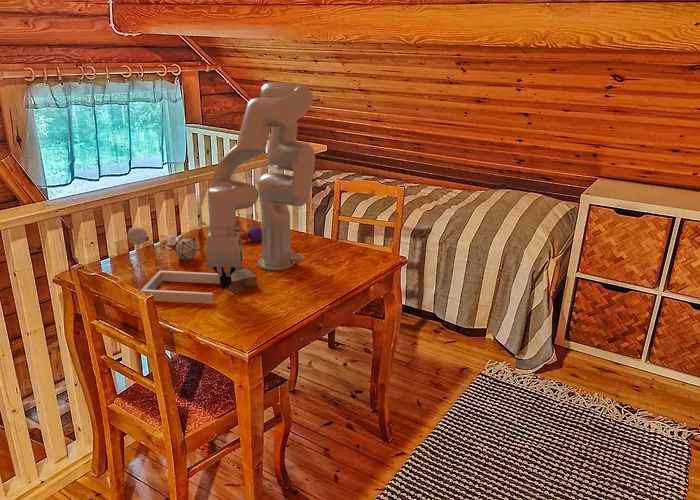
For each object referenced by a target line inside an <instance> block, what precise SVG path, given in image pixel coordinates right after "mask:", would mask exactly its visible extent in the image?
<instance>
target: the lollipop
mask: <svg viewBox="0 0 700 500" xmlns="http://www.w3.org/2000/svg"><path fill="white" fill-rule="evenodd" d="M126 235H127V236H126V238H127V240H128V241H129V242H130V243H131V244H133V245H136V246H137V253H138V261H139V270H140V271H142V269H143V268H142V262H141V253H140V245H141V244H143V243H145V241H146V240H147V237H148V233H147V231H146V230H145V228H143V227H142V226H138V225H136V226H133V227H131V228H129V229H128V232H127V234H126Z"/></svg>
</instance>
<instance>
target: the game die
mask: <svg viewBox="0 0 700 500" xmlns="http://www.w3.org/2000/svg"><path fill="white" fill-rule="evenodd" d="M195 240H196V237H194V238H193V239H191V238H190V239H189V238H183V237H182V236H180V240H179V243H176V244H177V245H176V244H175V248H174V247H172V248H173V249H172V250H175V253H176V254H177V256H178V258H179V259H178V261H181V260H189V261H191V262H194V257H195V256H196V255H197V253H198V252H199V251H201V249H200V248H199V247H198V246H197V243H196V241H195Z"/></svg>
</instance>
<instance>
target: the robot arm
mask: <svg viewBox="0 0 700 500" xmlns="http://www.w3.org/2000/svg"><path fill="white" fill-rule="evenodd" d="M312 104H313V92H312V89H311V88H310V87H309V86H308V85H305V84H302V83H291V82H290V83H289V82H282V81H281V82H280V81H279V82H278V81H272V82H267V83H264V84H263V85H262V86H261V89H260V97H254V98H252V99H250V100H249V101H248V103H247V104H246V108H245V111H244V116H243V119H242V123H241V127H240V129H239V130H240V131H239V134H238V136H237V137H238V138H237V141H236V143H235V145H234V146H233V147H232V148H231V149H230V150H229V151H227V152H226V153H225V155H224V156H223V157H222V158H221V159H220V160H219V162H218V164H217V165H216V168H215V170H214V174H213V177H212V180H211V184H210V188H209V190H208V191H207V208H208V222H209V225H208V226H209V232H208V233H207V237H206V248H205V249H206V250H205V259H206V269H207V270H208V269H209V270H211V271H212V270H213V271H215V272H214V273H218V276H220V284H219V285H220V286H221V289H223V290H224V289H225V290H229V289H228V287H229V285H231V274H232V273H233V272H234V271H238V270H243V269H244V265H243V261H244V259H243V258H244V257H243V255H244V254H243V246H242V239H240V231H241V230H242V226H241V225H237V219H236V217H237V216H236V211H238V210H243V209H244V210H245V209H249V208H252V207H253V206H254V205H255V204H256V203H257V202H258V199H259V203H260V213H261V214H260V215H261V221H260V223H261V228H262V240H261V251H262V252H261V253H262V256H261V257H259V259H258V260H257V265H258V266H259V268H261V269H264V270H267V271H283V270H288V269H291V268H293V267H294V266H295V264H296V262H303V261H304V256H303V255H301V253H294V252H293V249H291V213H290V210H289V207H288V206H291V207H303V206H304V205H306V204H307V202H308V201H309V199H310V195H311V189H312V183H313V177H314V172H315V171H314V170H315V163H316V154H315V151H314V148H313V147H312V146H311V145H310V144H308V143H307V142H300V141H297V137H298V122H297V121H298V120H299V119H300V118H301V117H303V116H304V115H305V114H306V113H307V112H308V111H309V110H310V108H311V107H312ZM268 139H269V141H268ZM267 142H268V143H267ZM267 144H268V147H267ZM266 147H267V154H266V160H267V163H268V165H269V166H270V167H271V168H273V169H277V170H282V171H289V172H293V175H290V174H284V173H278V172H267V173H265V174H262V176H260V178H259V179H258V182H257V186H255V185H253V184H251V183H248V182H243V181H238V180H232V176H233V174H234V172H235V170H236V169H238V167H239V166H241V165H242V164H244V163H245V162H248V161H251V160H252V159H255V158H259V157H261V156H262V155H264V153H265V151H266ZM303 263H304V262H303ZM225 268H226V271H225Z"/></svg>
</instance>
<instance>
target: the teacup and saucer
mask: <svg viewBox="0 0 700 500" xmlns="http://www.w3.org/2000/svg"><path fill="white" fill-rule="evenodd" d="M166 238H167V242H168V243H167V244H168V245H170V246H169V247H166V248H167V250H169V249H170V250H174V249H173V248H175V247H176V244H178V243H179V241H180V240H179V237H177V235H176V234H175V233H171V234H170V233H169V234H167V236H166ZM174 246H175V247H174Z"/></svg>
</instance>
